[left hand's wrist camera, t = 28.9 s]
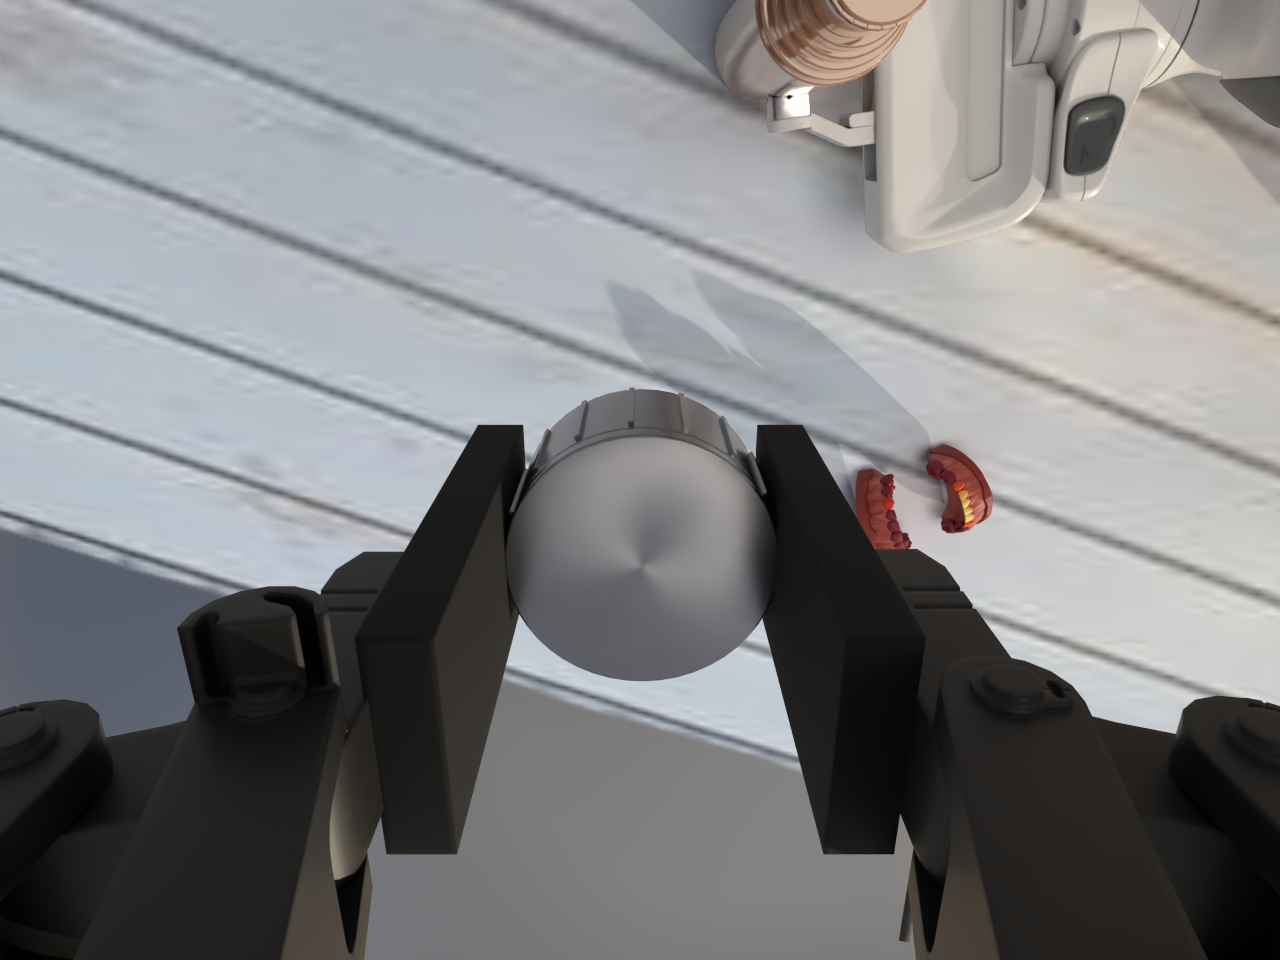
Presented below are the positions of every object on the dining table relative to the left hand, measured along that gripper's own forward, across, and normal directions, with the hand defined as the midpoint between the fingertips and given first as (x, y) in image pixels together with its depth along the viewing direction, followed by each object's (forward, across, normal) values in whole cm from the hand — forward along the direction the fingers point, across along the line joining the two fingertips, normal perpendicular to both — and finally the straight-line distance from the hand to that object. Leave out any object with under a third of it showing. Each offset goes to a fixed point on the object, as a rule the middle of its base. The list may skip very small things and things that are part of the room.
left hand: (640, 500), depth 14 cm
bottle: (+35, +6, +10) cm, 38 cm away
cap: (-2, 0, 0) cm, 2 cm away
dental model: (+36, +17, -15) cm, 42 cm away
